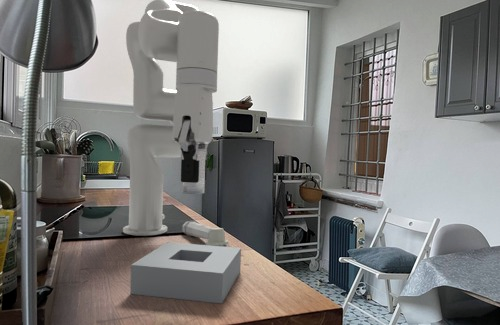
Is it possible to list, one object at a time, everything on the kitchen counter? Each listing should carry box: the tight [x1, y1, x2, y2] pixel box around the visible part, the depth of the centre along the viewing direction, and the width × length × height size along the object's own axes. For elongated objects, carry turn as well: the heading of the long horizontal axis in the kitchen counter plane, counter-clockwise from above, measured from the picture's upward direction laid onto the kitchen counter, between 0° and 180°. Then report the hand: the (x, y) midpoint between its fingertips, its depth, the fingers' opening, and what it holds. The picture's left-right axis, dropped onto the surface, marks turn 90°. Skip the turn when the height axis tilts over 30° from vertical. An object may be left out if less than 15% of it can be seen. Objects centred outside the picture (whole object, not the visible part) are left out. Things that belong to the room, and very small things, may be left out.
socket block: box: [130, 241, 242, 304], centre depth 69 cm, size 16×16×5 cm
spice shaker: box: [182, 144, 206, 195], centre depth 68 cm, size 4×4×9 cm
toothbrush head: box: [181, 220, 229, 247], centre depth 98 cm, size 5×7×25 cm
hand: (193, 180), depth 68 cm, fingers closed on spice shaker, 4 cm apart
